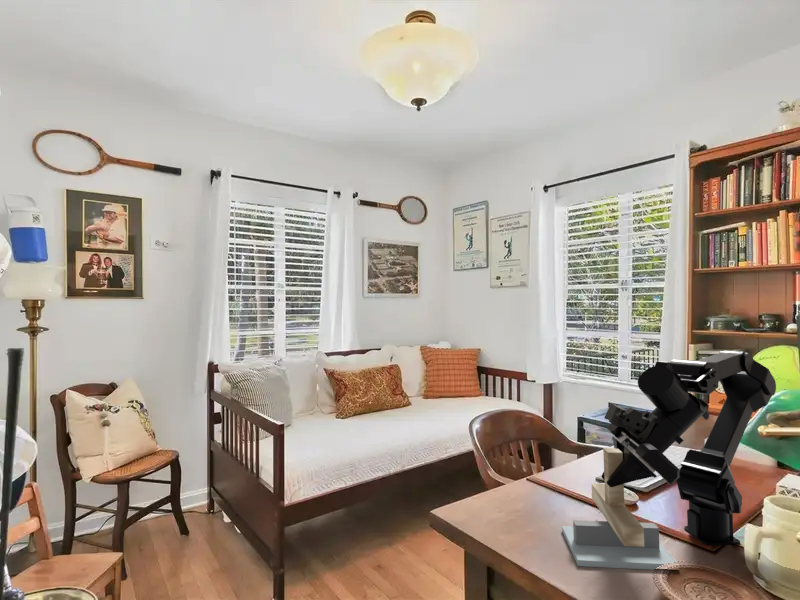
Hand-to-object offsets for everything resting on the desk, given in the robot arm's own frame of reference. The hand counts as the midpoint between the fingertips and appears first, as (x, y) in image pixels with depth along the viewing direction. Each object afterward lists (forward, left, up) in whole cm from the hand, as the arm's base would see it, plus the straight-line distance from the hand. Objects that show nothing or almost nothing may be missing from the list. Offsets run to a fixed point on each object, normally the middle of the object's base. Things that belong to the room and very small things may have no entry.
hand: (605, 482), depth 82 cm
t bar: (-1, 0, -7) cm, 7 cm away
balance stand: (-1, 0, -12) cm, 12 cm away
